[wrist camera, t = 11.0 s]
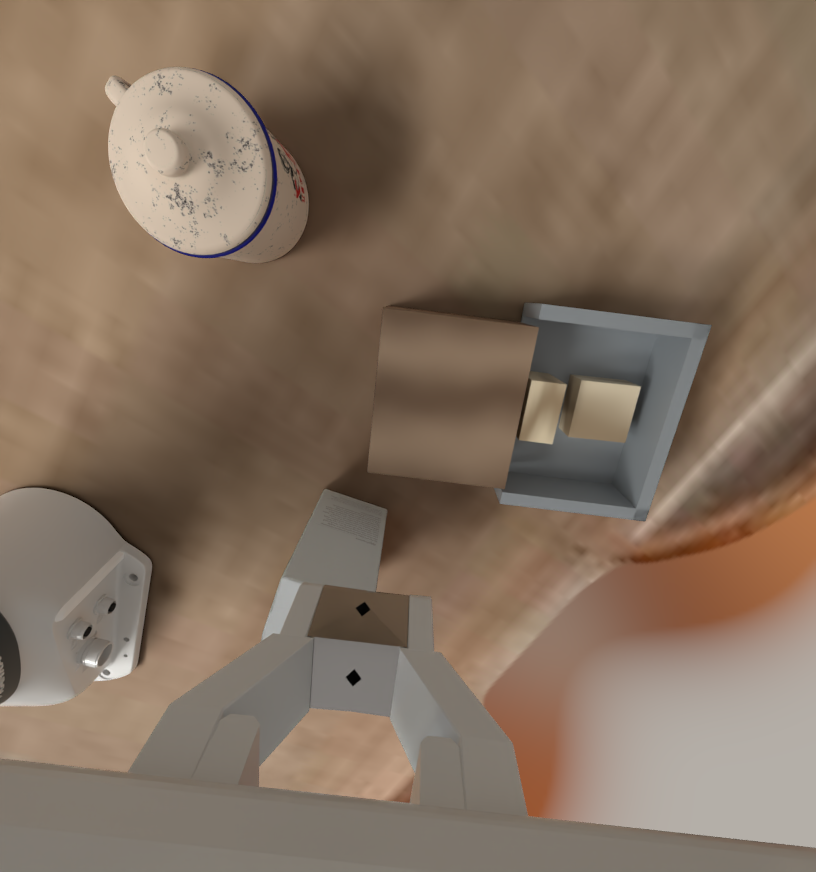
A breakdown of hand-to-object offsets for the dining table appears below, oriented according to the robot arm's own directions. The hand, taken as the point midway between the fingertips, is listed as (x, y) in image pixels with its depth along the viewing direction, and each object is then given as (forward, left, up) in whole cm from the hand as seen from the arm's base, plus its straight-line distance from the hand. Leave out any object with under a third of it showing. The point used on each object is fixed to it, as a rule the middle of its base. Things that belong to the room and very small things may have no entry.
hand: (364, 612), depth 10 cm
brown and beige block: (0, -3, -27) cm, 27 cm away
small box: (-15, +4, -27) cm, 31 cm away
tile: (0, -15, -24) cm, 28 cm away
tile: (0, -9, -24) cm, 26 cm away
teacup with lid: (+13, +14, -27) cm, 33 cm away
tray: (0, -14, -27) cm, 30 cm away
